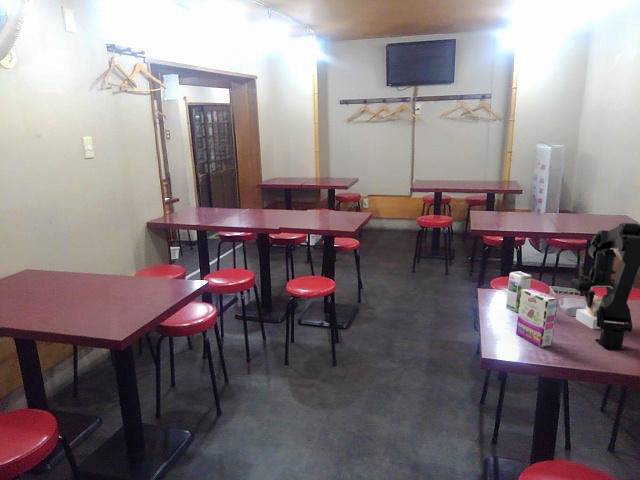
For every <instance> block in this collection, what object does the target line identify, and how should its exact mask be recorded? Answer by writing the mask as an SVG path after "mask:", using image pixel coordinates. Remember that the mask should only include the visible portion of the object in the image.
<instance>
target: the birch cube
mask: <svg viewBox="0 0 640 480" xmlns="http://www.w3.org/2000/svg"><path fill="white" fill-rule="evenodd" d="M601 301H602V297H594V299H593V302H592V306H591V308H589V307H588V306H587V303H586V312H588V313H589V314H591V315H592V316H594V317H597V313H596V311H597V309H598V307H599V306H600V303H601Z"/></svg>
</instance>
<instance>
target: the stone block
mask: <svg viewBox="0 0 640 480" xmlns="http://www.w3.org/2000/svg"><path fill="white" fill-rule="evenodd" d="M558 303H559V307H560V309H561V312H562V313H563V312H564V314H565V315H567V316H569V317H575V316H576V312H577V309H586V304H587V302H586V299H583V298H582V299H580V298H574V297H564V298H560V299H558Z"/></svg>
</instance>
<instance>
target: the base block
mask: <svg viewBox="0 0 640 480" xmlns="http://www.w3.org/2000/svg"><path fill="white" fill-rule="evenodd" d="M575 319H576V320H577V321H579V322H580V323H582V324H584V325H585V326H587V327H588V328H590V329H591V330H597V329H600V330H601V328H600V327H597V326H596V324H597V317H594V316H592V315H591V314H589V313H588V312H586V309H577V312H576V317H575ZM604 322H608V323H618V322H613V321H604Z"/></svg>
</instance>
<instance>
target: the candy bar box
mask: <svg viewBox="0 0 640 480" xmlns="http://www.w3.org/2000/svg"><path fill="white" fill-rule="evenodd" d="M558 303H559V298H556V297H554V296H552V295H549V294H548V293H544V292H541V291H539V290H537V289H535V288H532V287H530V288H528V289H522V290H521V294H520V303H519V312H517V313H518V314H517V321H516V322H517V323H516V331H515V334H516V335H517V336H519V337H521V338H523V339H524V340H526V341H528V342H529V343H532V344H533V345H535V346H537V347H539V348H542V349H543V348H546V347H552V345H553V339H554V338H553V337H554V331H555V325H556V317H557V316H556V315H557V310H558V309H557V308H558Z"/></svg>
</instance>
